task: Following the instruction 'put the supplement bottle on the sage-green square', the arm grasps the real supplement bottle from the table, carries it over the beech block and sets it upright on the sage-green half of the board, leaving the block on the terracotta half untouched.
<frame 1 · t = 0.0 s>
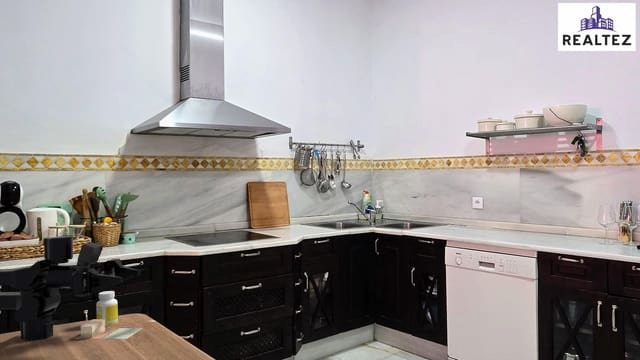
hand: (130, 276, 121), 17 cm above the table, tool horizontal, fingers open, 9 cm apart
sorting board: (110, 337, 124), on the table
beech block: (93, 334, 123), point 1 cm above the table, touching sorting board
supplement bottle: (107, 328, 133), on the table
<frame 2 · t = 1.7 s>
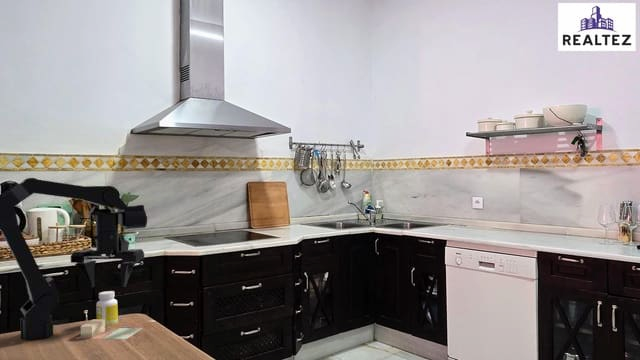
hand: (108, 286, 133), 11 cm above the table, tool pointing down, fingers open, 9 cm apart
nothing on the table moved.
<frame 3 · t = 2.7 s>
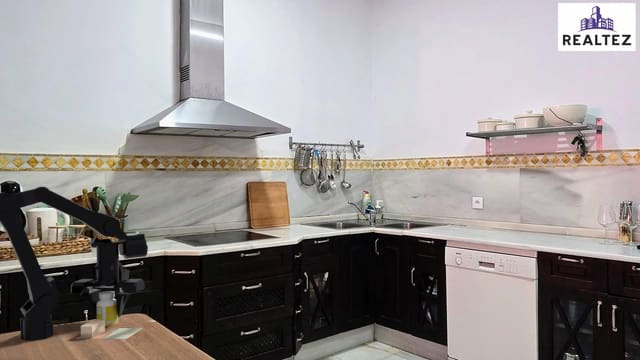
hand: (108, 316, 133), 3 cm above the table, tool pointing down, fingers open, 6 cm apart
supplement bottle: (107, 328, 133), on the table, touching gripper
everything else where it was.
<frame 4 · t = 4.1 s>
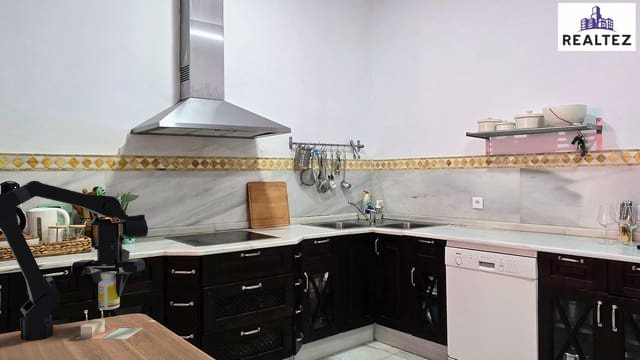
hand: (109, 296, 133), 9 cm above the table, tool pointing down, fingers closed on supplement bottle, 5 cm apart
supplement bottle: (109, 308, 133), point 5 cm above the table, touching gripper
everything else where it was.
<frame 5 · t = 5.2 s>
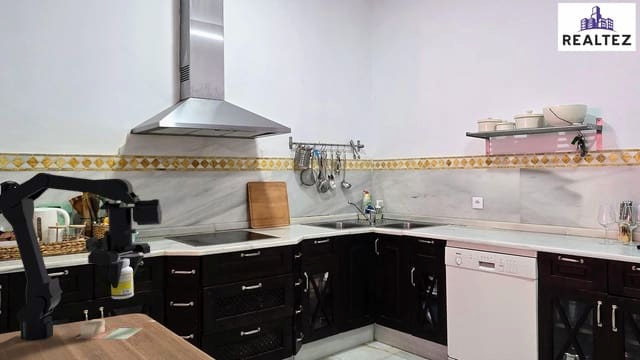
hand: (121, 285, 126), 13 cm above the table, tool pointing down, fingers closed on supplement bottle, 5 cm apart
supplement bottle: (122, 297, 126), point 10 cm above the table, touching gripper
everything else where it was.
when the fingers open (6 cm above the table, at t = 7.1 s): supplement bottle drops 2 cm, resting on sorting board.
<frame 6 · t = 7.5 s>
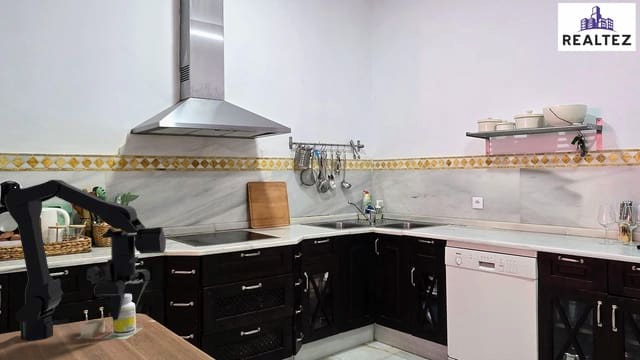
hand: (124, 314, 124), 6 cm above the table, tool pointing down, fingers open, 9 cm apart
supplement bottle: (124, 334, 124), point 1 cm above the table, touching sorting board
everything else where it was.
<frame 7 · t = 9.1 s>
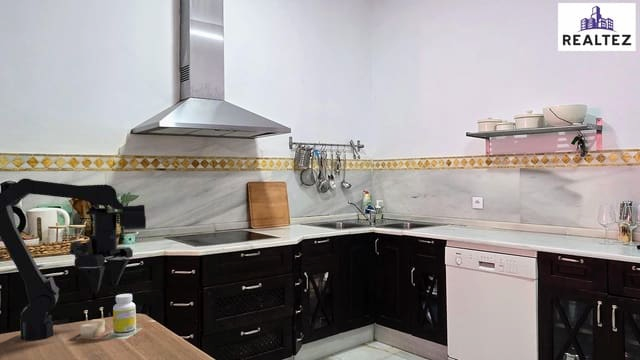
hand: (105, 288, 129), 12 cm above the table, tool pointing down, fingers open, 9 cm apart
nothing on the table moved.
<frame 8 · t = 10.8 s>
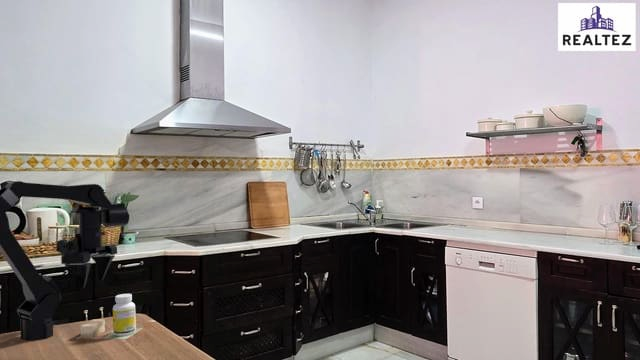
hand: (91, 284, 134), 12 cm above the table, tool pointing down, fingers open, 9 cm apart
nothing on the table moved.
at the end: supplement bottle inside the target area on the sorting board (0.3 cm from its centre), point 1.0 cm above the sorting board's base; supplement bottle tilted 0°; beech block moved 0.0 cm from its start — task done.
